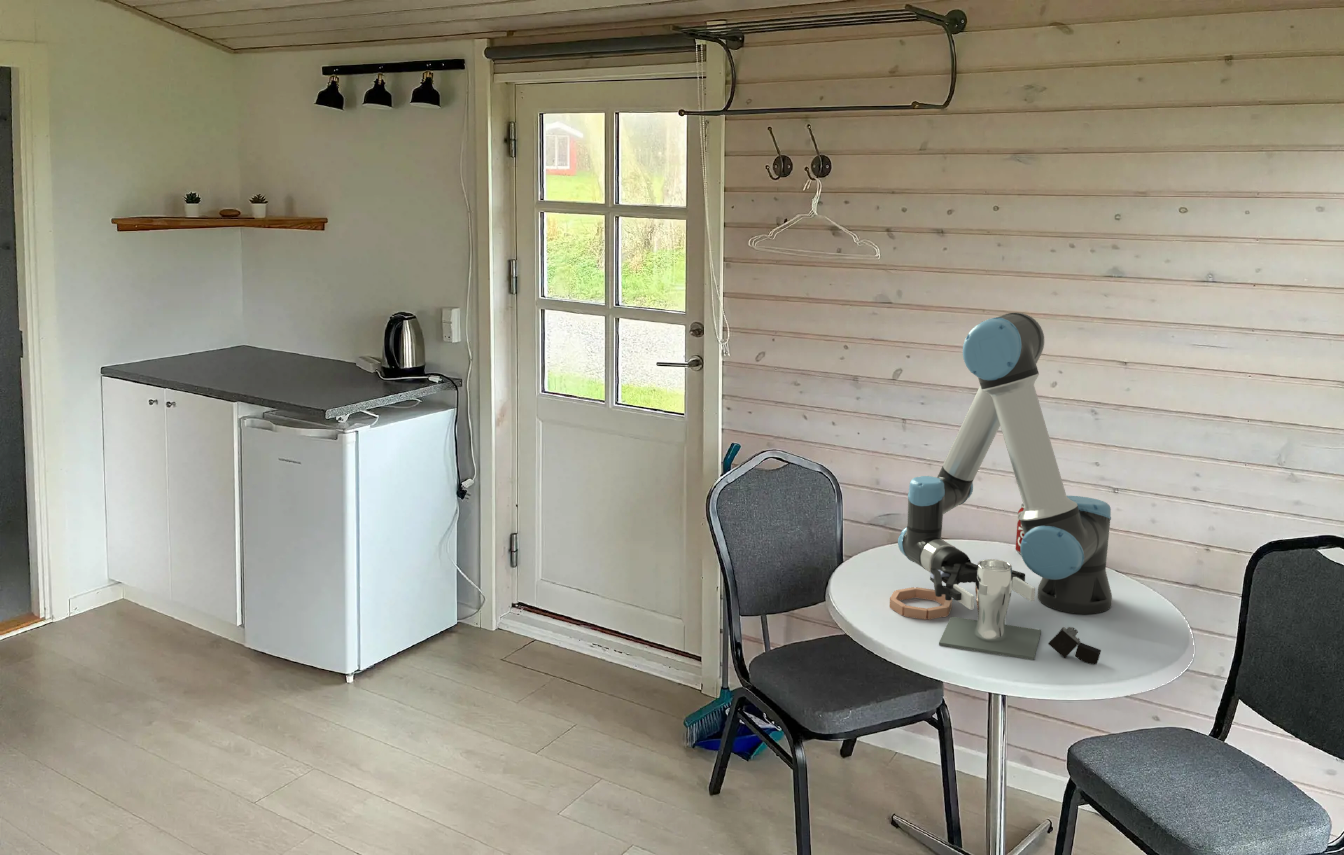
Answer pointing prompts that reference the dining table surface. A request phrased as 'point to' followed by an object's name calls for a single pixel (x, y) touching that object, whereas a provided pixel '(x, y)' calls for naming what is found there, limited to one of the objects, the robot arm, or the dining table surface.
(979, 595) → the beer glass
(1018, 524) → the soda can
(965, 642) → the mat
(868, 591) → the dining table surface
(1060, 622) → the dining table surface
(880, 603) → the dining table surface
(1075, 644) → the lighter
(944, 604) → the coaster ring
